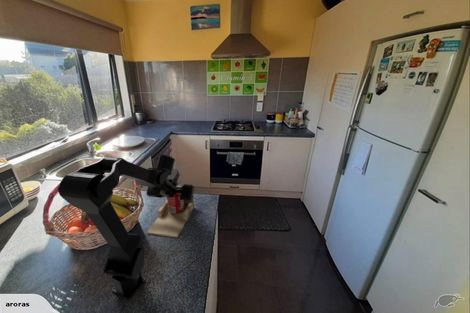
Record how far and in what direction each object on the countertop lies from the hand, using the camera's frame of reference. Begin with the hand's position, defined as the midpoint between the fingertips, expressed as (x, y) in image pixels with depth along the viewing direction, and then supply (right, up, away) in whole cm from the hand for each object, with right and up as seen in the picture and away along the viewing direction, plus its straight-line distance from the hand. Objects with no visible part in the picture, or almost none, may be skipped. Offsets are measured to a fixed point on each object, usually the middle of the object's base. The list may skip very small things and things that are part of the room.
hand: (177, 195), depth 89 cm
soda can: (-1, -7, +1) cm, 7 cm away
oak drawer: (-1, -10, -3) cm, 10 cm away
